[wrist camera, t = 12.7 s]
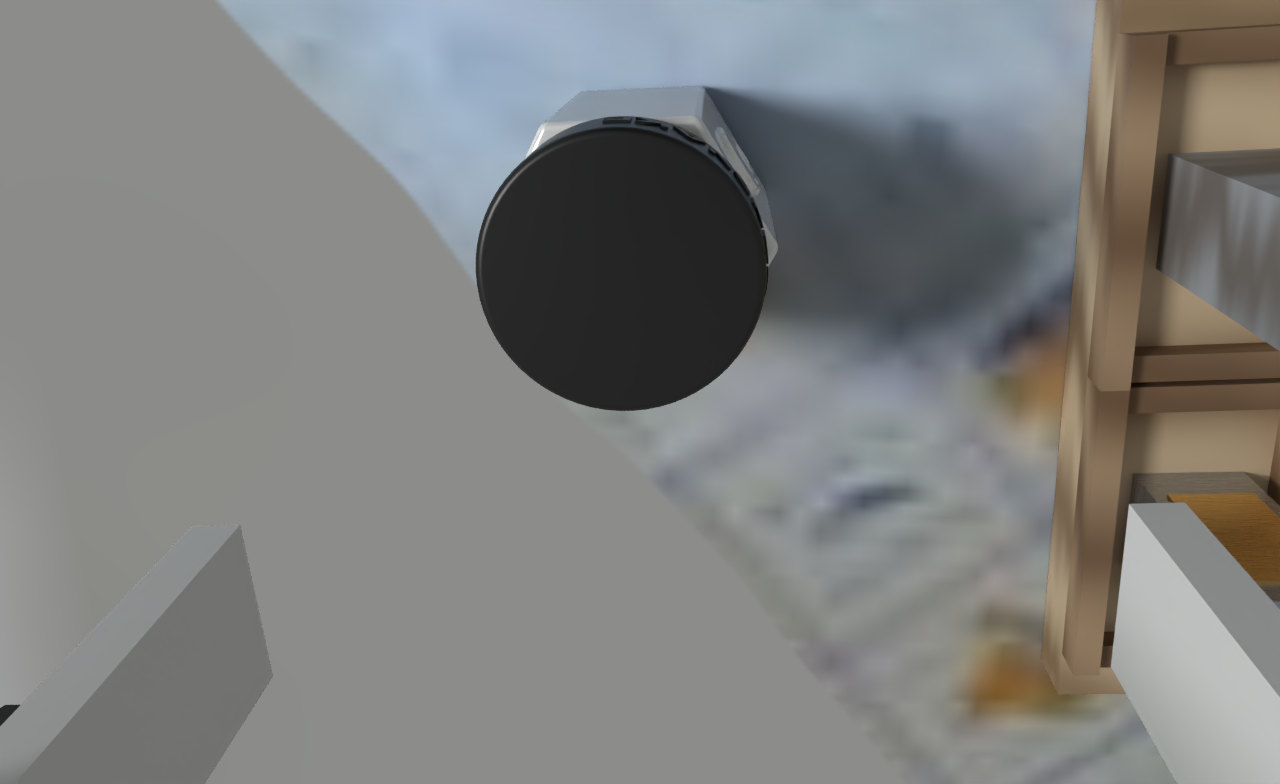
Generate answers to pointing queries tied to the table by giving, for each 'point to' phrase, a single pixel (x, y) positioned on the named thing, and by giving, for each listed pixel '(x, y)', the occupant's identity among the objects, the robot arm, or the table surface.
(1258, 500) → the grey rectangular prism
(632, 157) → the jar
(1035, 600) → the table surface
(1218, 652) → the robot arm
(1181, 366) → the light wooden long frame
